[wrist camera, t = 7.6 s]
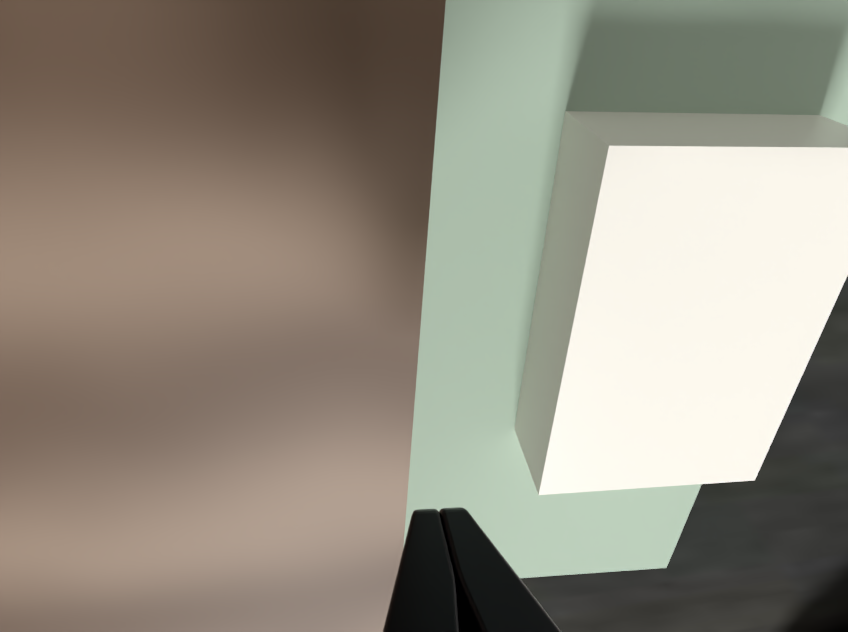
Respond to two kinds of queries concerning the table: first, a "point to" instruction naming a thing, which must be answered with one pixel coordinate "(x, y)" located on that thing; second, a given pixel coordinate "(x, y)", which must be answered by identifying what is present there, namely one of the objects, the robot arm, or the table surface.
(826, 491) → the table surface
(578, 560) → the mat
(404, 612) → the robot arm
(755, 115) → the tile
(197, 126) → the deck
